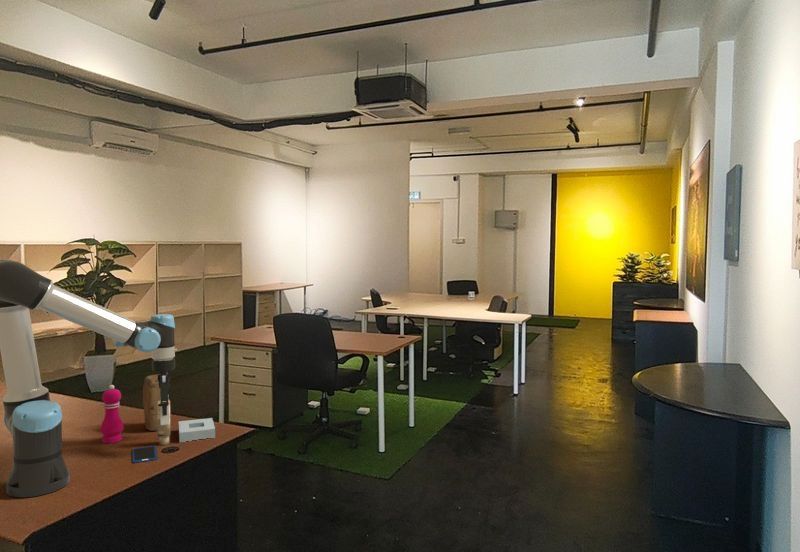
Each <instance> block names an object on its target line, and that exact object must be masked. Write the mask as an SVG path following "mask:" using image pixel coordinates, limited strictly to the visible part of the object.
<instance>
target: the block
mask: <svg viewBox="0 0 800 552" xmlns="http://www.w3.org/2000/svg"><path fill="white" fill-rule="evenodd" d="M158 375H160V373H158V374H151V375H147V376H146V377H145V379H144V380H143V385H142V387H143V388H142V401H143V402H142V405H143V414H144V415H143V416H144V425H145V428H146V429H147V430H148V431H153V432H158V401H160V388H159V382H158Z"/></svg>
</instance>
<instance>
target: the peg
mask: <svg viewBox="0 0 800 552" xmlns="http://www.w3.org/2000/svg"><path fill="white" fill-rule="evenodd" d="M164 402H167V401H164ZM168 402H169V424H166V425H161V422H160V406H159V407H158V430H157V437H158V440H159V441H158V443H159V445H160V446H166V445H167V446H168V445H169V444H170V436H171V433H172V432H171V400H170V399H169V400H168ZM160 403H161V400H160V401H158V404H160Z"/></svg>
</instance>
